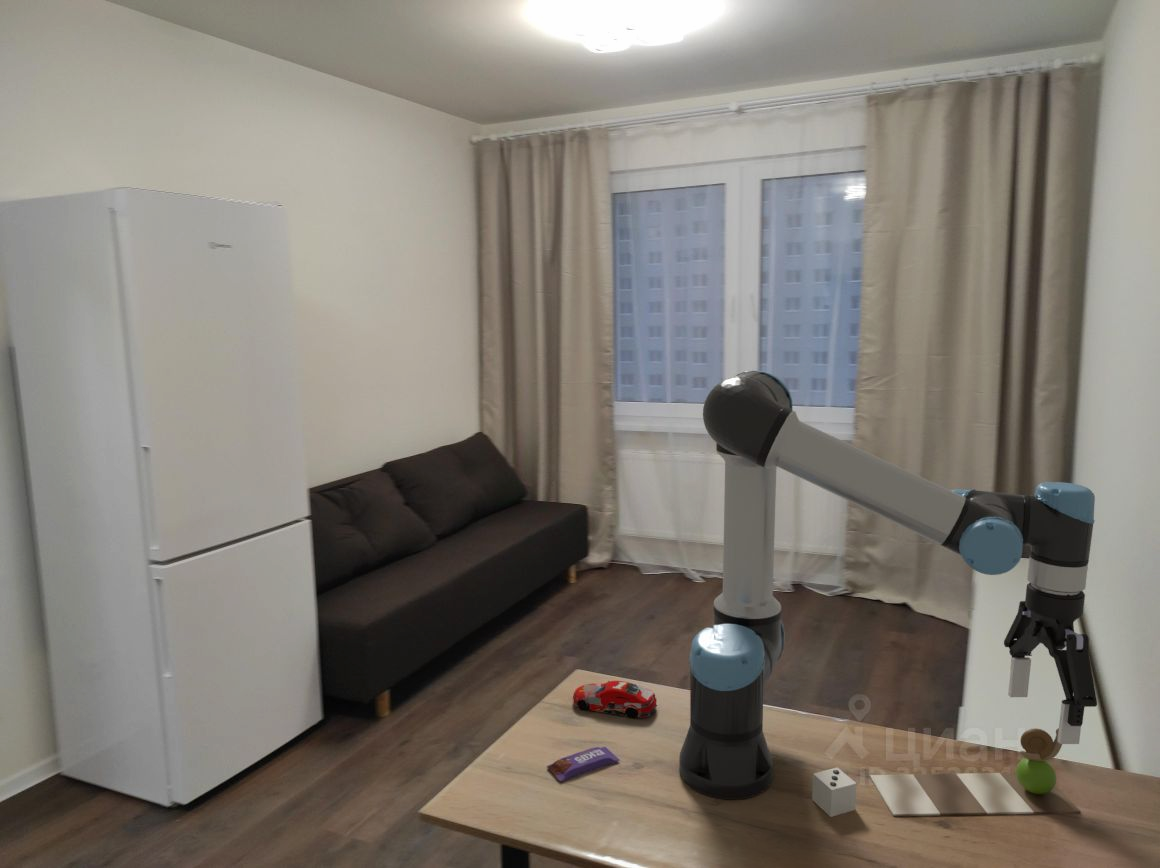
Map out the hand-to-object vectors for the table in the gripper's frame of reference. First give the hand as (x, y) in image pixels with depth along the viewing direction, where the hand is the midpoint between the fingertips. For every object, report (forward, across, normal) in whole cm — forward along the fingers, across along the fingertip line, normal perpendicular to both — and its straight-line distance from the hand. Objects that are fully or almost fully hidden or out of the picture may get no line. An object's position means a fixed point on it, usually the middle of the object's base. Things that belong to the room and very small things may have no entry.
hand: (1041, 718), depth 123 cm
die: (+13, -2, +32) cm, 35 cm away
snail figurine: (+12, 0, 0) cm, 12 cm away
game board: (+13, 0, +10) cm, 16 cm away
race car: (+14, +29, +64) cm, 72 cm away
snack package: (+15, +9, +70) cm, 72 cm away
